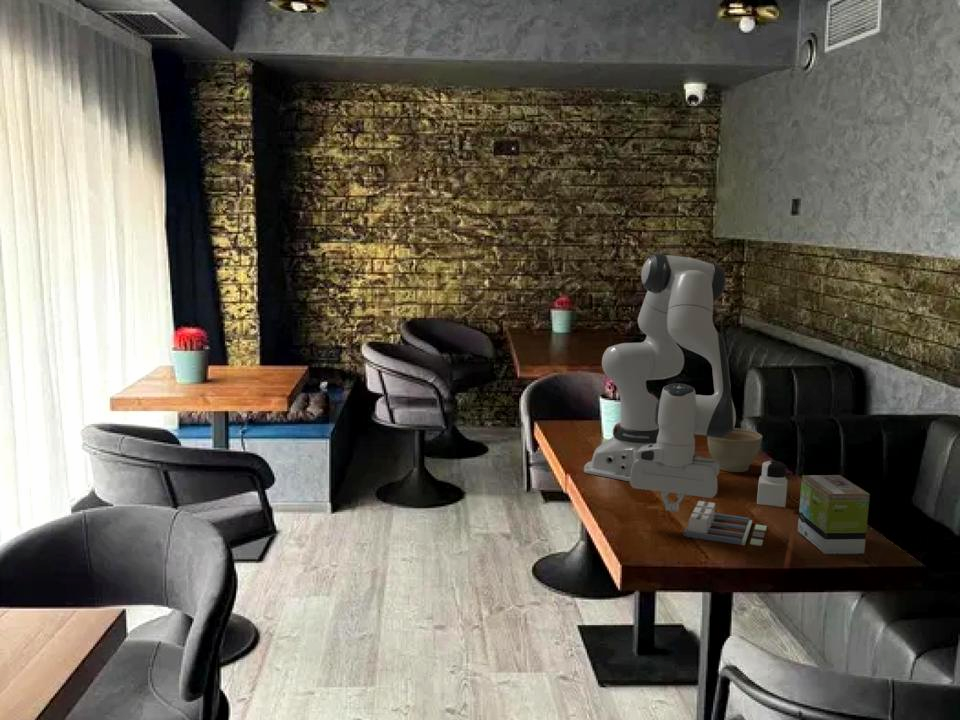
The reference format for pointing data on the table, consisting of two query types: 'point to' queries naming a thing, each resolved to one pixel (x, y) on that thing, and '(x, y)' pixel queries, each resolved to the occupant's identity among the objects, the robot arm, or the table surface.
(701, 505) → the tab
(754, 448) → the planter bowl
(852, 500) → the tea box
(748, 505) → the table surface
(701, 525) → the tab
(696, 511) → the white slotted cube
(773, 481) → the medicine bottle
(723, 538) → the switch bank
